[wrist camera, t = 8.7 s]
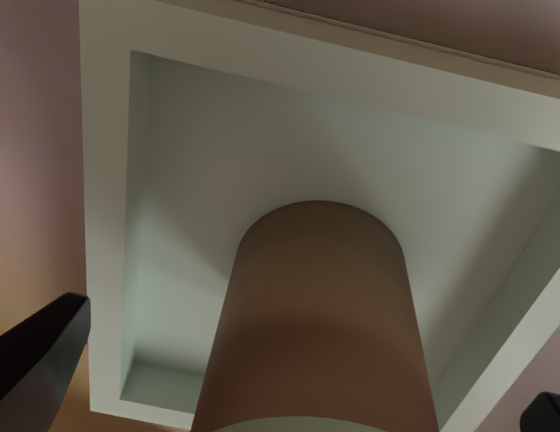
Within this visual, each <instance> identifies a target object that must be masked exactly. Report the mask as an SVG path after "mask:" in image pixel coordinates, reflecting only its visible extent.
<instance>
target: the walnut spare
mask: <svg viewBox="0 0 560 432" xmlns="http://www.w3.org/2000/svg"><path fill="white" fill-rule="evenodd" d="M190 432H439V428H438V423H437V418H436V413H435V408H434V403H433V398H432V393H431V388H430V383H429V378H428V373H427V368H426V363H425V358H424V353H423V348H422V343H421V338H420V333H419V328H418V323H417V318H416V313H415V308H414V303H413V298H412V293H411V288H410V283H409V278H408V273H407V268H406V263H405V258H404V254H403V251H402V248H401V246H400V244H399V242H398V240H397V238H396V237H395V235H394V234H393V233H392V231H391V230H390V229H389V228H388V227H387V226H386V225H385V224H384V223H383V222H381V221H380V220H379V219H377V218H376V217H375V216H373V215H371V214H369V213H368V212H366V211H364V210H362V209H359V208H357V207H354V206H351V205H348V204H344V203H339V202H333V201H322V200H314V201H303V202H297V203H292V204H289V205H285V206H282V207H280V208H277V209H275V210H273V211H271V212H269V213H267V214H266V215H264V216H262V217H261V218H260V219H259V220H257V221H256V222H255V223H254V224H253V225H252V226H251V227H250V228H249V229H248V230H247V232H246V233H245V234H244V236H243V237H242V239H241V241H240V244H239V246H238V249H237V253H236V257H235V260H234V264H233V268H232V272H231V276H230V280H229V284H228V287H227V291H226V295H225V299H224V303H223V307H222V310H221V314H220V318H219V322H218V326H217V330H216V334H215V337H214V341H213V345H212V349H211V353H210V357H209V361H208V364H207V368H206V372H205V376H204V380H203V384H202V388H201V391H200V395H199V399H198V403H197V407H196V411H195V415H194V418H193V422H192V426H191V430H190Z"/></svg>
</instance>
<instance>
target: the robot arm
mask: <svg viewBox="0 0 560 432" xmlns="http://www.w3.org/2000/svg"><path fill="white" fill-rule="evenodd" d="M90 329H91V301H90V298H89V297H88V296H86V295H82V294H77V293H73V292H68V293H65V294H63V295H62V296H60V297H58V298H57V299H55V300H54V301H52V302H51V303H49V304H48V305H46V306H45V307H43V308H42V309H40V310H39V311H37V312H36V313H34V314H33V315H31V316H30V317H28V318H27V319H25V320H24V321H22V322H20V323H19V324H17V325H16V326H14V327H13V328H11V329H10V330H8V331H7V332H5V333H4V334H2V335H1V336H0V432H47V431H48V430H49V428H50V426H51V424H52V422H53V420H54V418H55V416H56V414H57V412H58V410H59V408H60V405H61V403H62V401H63V398H64V396H65V393H66V391H67V388H68V386H69V384H70V381H71V379H72V376H73V374H74V371H75V369H76V366H77V364H78V361H79V359H80V356H81V354H82V352H83V349H84V347H85V344H86V342H87V339H88V337H89V334H90ZM520 431H521V432H560V394H556V393H551V392H541V393H540V394H538V396H537V397H536V398H535V399H534V400H533V401H532V402H531V404H530V405H529V406H528V407H527V408H526V409H525V410H524V412H523V413H522V415H521V418H520Z"/></svg>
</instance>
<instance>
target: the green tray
mask: <svg viewBox="0 0 560 432" xmlns="http://www.w3.org/2000/svg"><path fill="white" fill-rule="evenodd" d="M79 34H80V69H81V105H82V140H83V175H84V211H85V246H86V281H87V296H88V297H89V298H90V301H91V329H90V334H89V337H88V352H89V387H90V411H94V412H99V413H104V414H109V415H114V416H119V417H124V418H130V419H135V420H140V421H145V422H150V423H155V424H160V425H165V426H171V427H176V428H181V429H186V430H191V426H192V422H193V418H194V415H195V411H196V407H197V403H198V399H199V395H200V391H201V388H202V384H203V380H204V376H205V372H206V368H207V364H208V361H209V357H210V353H211V349H212V345H213V341H214V337H215V334H216V330H217V326H218V322H219V318H220V314H221V310H222V307H223V303H224V299H225V295H226V291H227V287H228V284H229V280H230V276H231V272H232V268H233V264H234V260H235V257H236V253H237V249H238V246H239V244H240V241H241V239H242V237H243V236H244V234H245V233H246V232H247V230H248V229H249V228H250V227H251V226H252V225H253V224H254V223H255V222H256V221H257V220H259V219H260V218H261V217H262V216H264V215H266V214H267V213H269V212H271V211H273V210H275V209H277V208H280V207H282V206H285V205H289V204H292V203H297V202H303V201H314V200H322V201H333V202H339V203H344V204H348V205H351V206H354V207H357V208H359V209H362V210H364V211H366V212H368V213H369V214H371V215H373V216H375V217H376V218H377V219H379V220H380V221H381V222H383V223H384V224H385V225H386V226H387V227H388V228H389V229H390V230H391V231H392V233H393V234H394V235H395V237H396V238H397V240H398V242H399V244H400V246H401V248H402V251H403V254H404V258H405V263H406V268H407V273H408V278H409V283H410V288H411V293H412V298H413V303H414V308H415V313H416V318H417V323H418V328H419V333H420V338H421V343H422V348H423V353H424V358H425V363H426V368H427V373H428V378H429V383H430V388H431V393H432V398H433V403H434V408H435V413H436V418H437V423H438V428H439V432H474V431H475V430H476V429H477V427H478V426H479V425H480V424H481V422H482V421H483V420H484V419H485V417H486V416H487V415H488V414H489V412H490V411H491V410H492V409H493V407H494V406H495V405H496V404H497V403H498V401H499V400H500V399H501V398H502V396H503V395H504V394H505V393H506V391H507V390H508V389H509V388H510V386H511V385H512V384H513V383H514V381H515V380H516V379H517V378H518V376H519V375H520V374H521V373H522V371H523V370H524V369H525V368H526V366H527V365H528V364H529V363H530V361H531V360H532V359H533V358H534V356H535V355H536V354H537V353H538V352H539V350H540V349H541V348H542V347H543V345H544V344H545V343H546V342H547V340H548V339H549V338H550V337H551V335H552V334H553V333H554V332H555V330H556V329H557V328H558V327H559V325H560V75H557V74H553V73H549V72H545V71H541V70H537V69H533V68H529V67H524V66H520V65H516V64H512V63H508V62H504V61H500V60H496V59H492V58H488V57H484V56H480V55H476V54H472V53H468V52H464V51H460V50H455V49H451V48H447V47H443V46H439V45H435V44H431V43H427V42H423V41H419V40H415V39H411V38H407V37H403V36H399V35H395V34H391V33H386V32H382V31H378V30H374V29H370V28H366V27H362V26H358V25H354V24H350V23H346V22H342V21H338V20H334V19H330V18H326V17H322V16H317V15H313V14H309V13H305V12H301V11H297V10H293V9H289V8H285V7H281V6H277V5H273V4H269V3H265V2H261V1H257V0H79Z"/></svg>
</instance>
